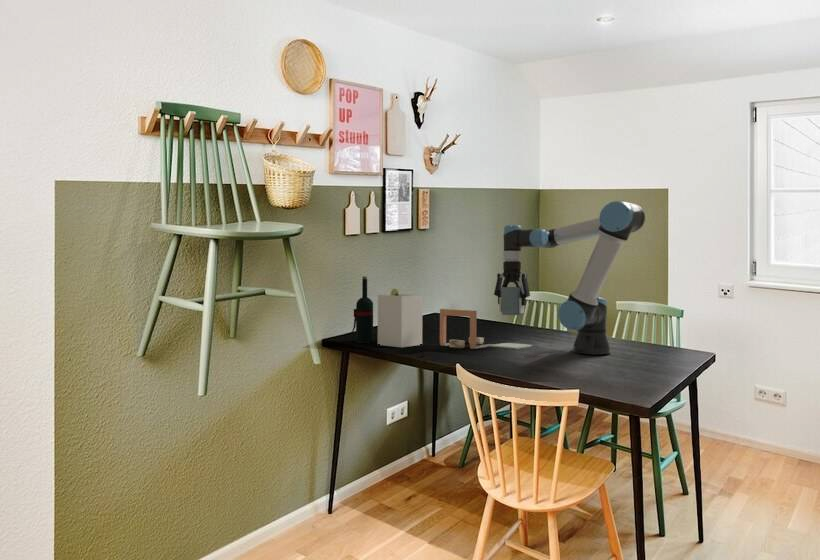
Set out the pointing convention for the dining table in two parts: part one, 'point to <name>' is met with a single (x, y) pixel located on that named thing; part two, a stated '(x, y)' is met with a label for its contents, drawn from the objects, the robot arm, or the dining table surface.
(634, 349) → the dining table surface
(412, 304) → the light grey box
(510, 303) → the grey open tube
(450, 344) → the beige rectangular block
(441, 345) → the rails
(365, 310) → the wine bottle
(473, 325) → the wooden arch
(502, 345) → the coaster
